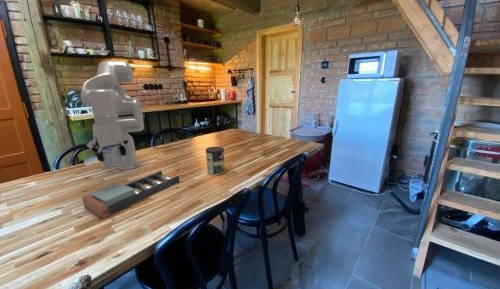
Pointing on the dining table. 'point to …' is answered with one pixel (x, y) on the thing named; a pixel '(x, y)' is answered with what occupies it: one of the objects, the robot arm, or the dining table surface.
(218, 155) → the coffee can
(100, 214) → the roller track
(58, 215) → the dining table surface
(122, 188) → the slab
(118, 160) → the medicine box
